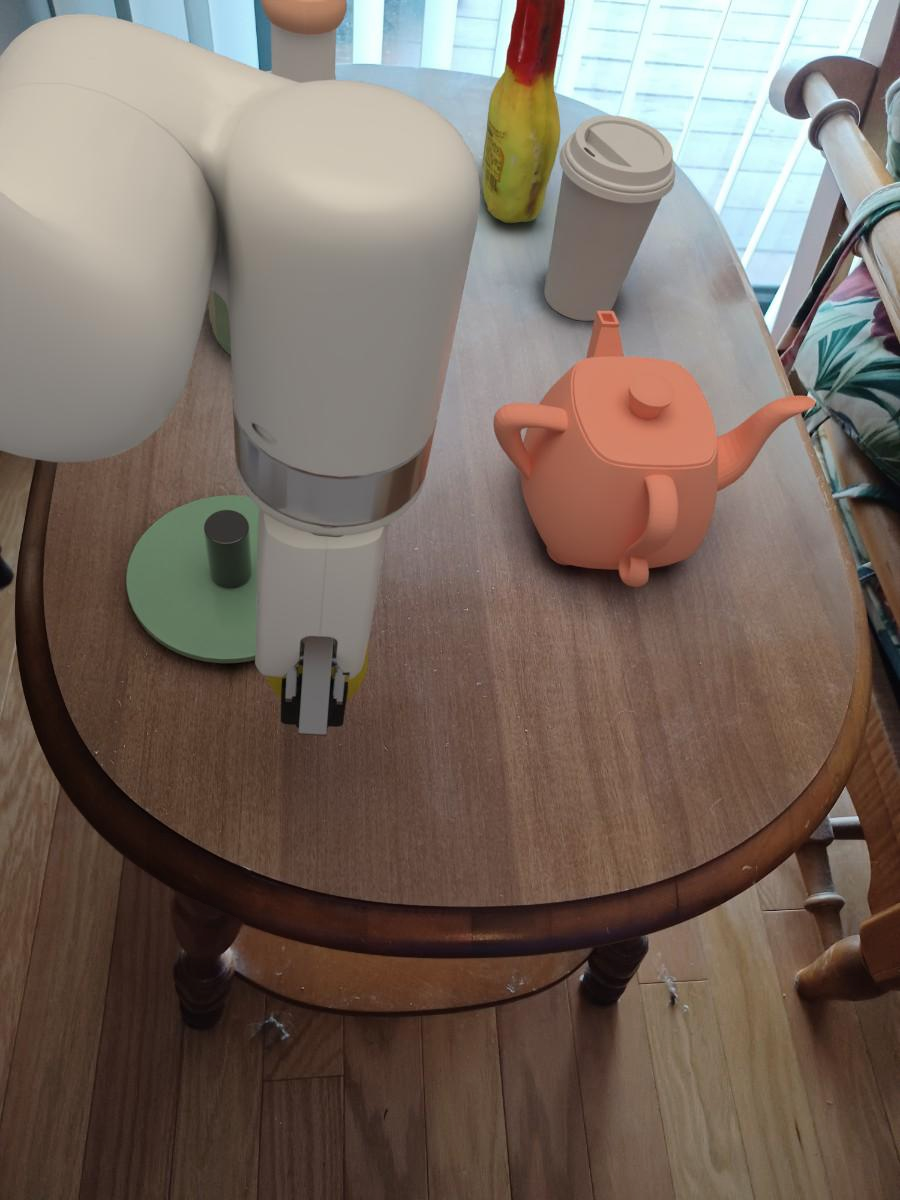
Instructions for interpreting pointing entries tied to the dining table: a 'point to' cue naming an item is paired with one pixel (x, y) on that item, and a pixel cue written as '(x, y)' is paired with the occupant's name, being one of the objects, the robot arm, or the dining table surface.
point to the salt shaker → (304, 37)
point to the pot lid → (199, 579)
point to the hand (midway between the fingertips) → (315, 666)
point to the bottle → (524, 115)
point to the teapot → (627, 458)
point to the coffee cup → (604, 210)
